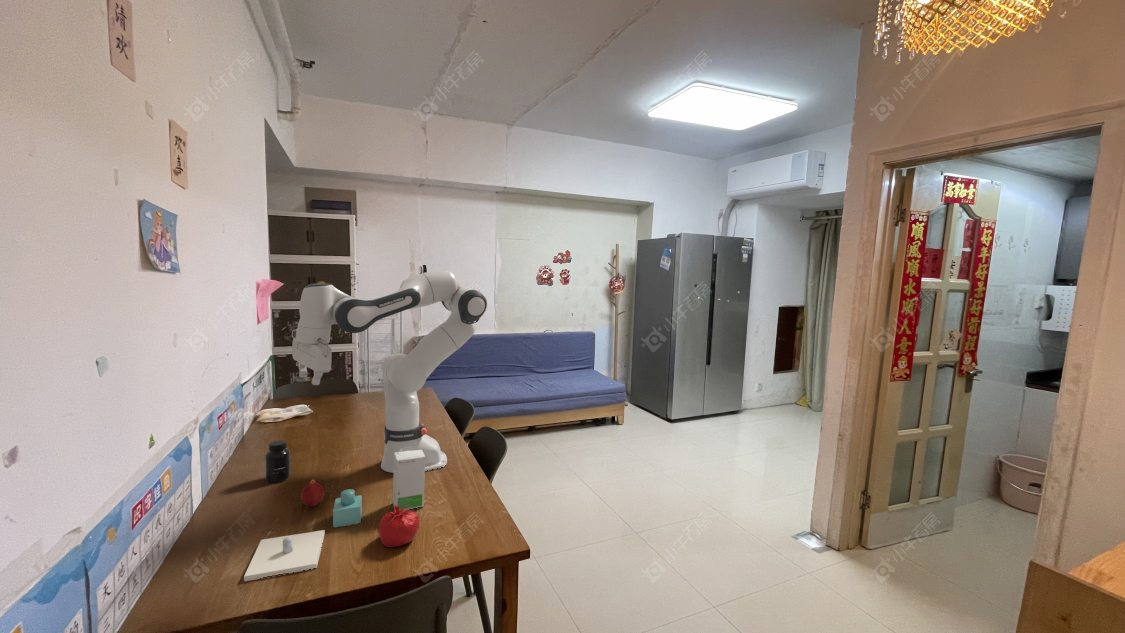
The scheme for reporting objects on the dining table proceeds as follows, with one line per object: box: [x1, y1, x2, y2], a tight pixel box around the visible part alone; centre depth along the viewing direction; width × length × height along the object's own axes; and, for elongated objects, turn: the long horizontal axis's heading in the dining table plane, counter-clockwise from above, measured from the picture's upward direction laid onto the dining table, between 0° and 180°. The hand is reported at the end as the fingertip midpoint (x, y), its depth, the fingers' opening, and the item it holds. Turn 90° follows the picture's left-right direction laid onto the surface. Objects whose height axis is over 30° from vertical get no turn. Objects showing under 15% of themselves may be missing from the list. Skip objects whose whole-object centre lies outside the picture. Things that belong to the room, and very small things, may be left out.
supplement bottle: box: [264, 439, 291, 484], centre depth 143 cm, size 7×7×12 cm
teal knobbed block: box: [332, 488, 363, 528], centre depth 122 cm, size 7×7×8 cm
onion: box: [300, 479, 325, 507], centre depth 128 cm, size 6×6×8 cm
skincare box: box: [392, 450, 426, 510], centre depth 130 cm, size 8×7×16 cm
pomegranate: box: [377, 505, 420, 548], centre depth 114 cm, size 10×10×9 cm
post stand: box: [243, 529, 326, 582], centre depth 106 cm, size 14×14×5 cm
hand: (309, 380), depth 135 cm, fingers open, 8 cm apart
